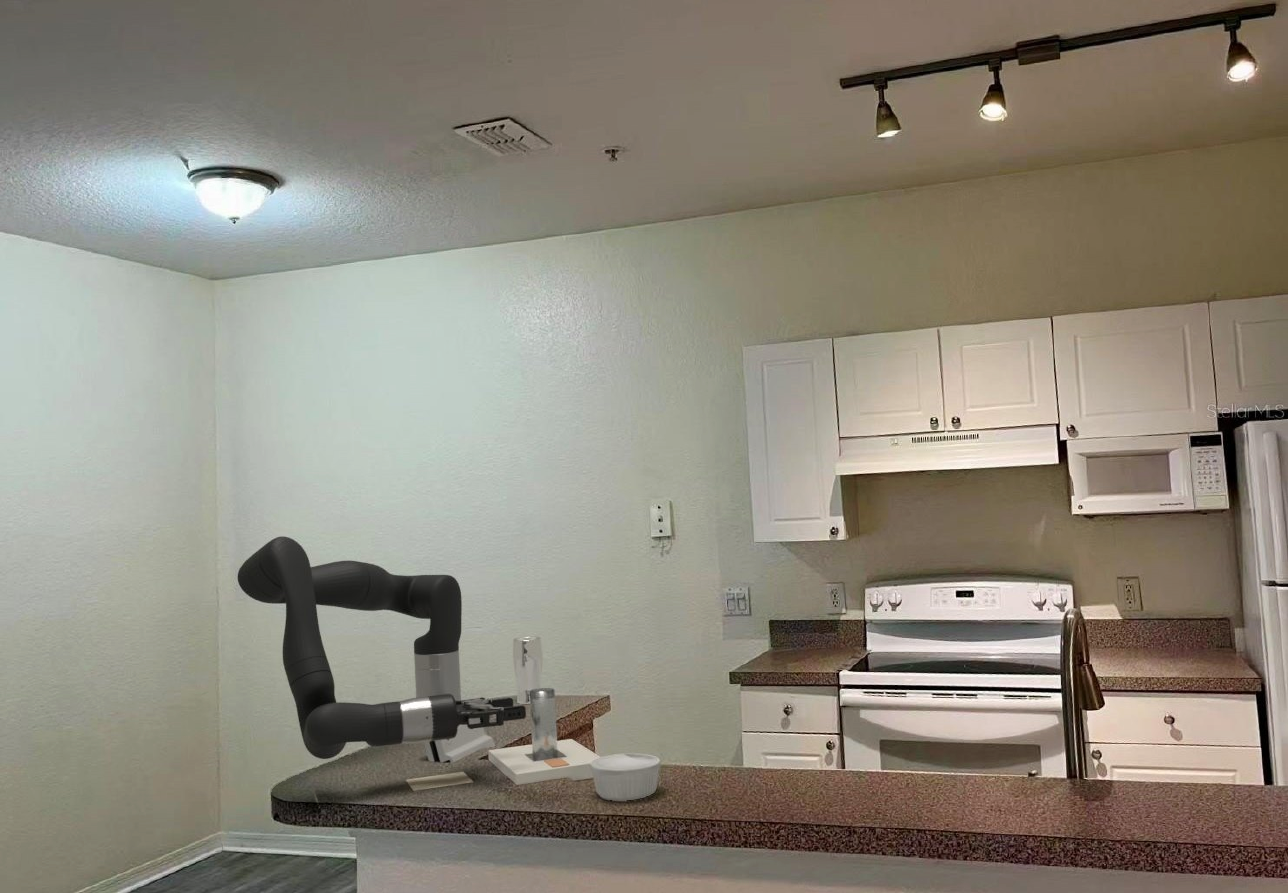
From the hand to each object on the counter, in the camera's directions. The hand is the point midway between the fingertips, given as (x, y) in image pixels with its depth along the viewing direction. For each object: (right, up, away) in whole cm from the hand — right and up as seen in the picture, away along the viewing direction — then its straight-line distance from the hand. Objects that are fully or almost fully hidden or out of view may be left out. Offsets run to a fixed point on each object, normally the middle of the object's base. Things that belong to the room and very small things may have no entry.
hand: (518, 707), depth 190 cm
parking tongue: (-13, -12, -6) cm, 19 cm away
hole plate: (+5, -11, +1) cm, 12 cm away
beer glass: (-5, -15, +67) cm, 69 cm away
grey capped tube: (+5, -11, +1) cm, 12 cm away
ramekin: (+19, -10, -17) cm, 27 cm away
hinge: (-13, -13, +16) cm, 25 cm away
